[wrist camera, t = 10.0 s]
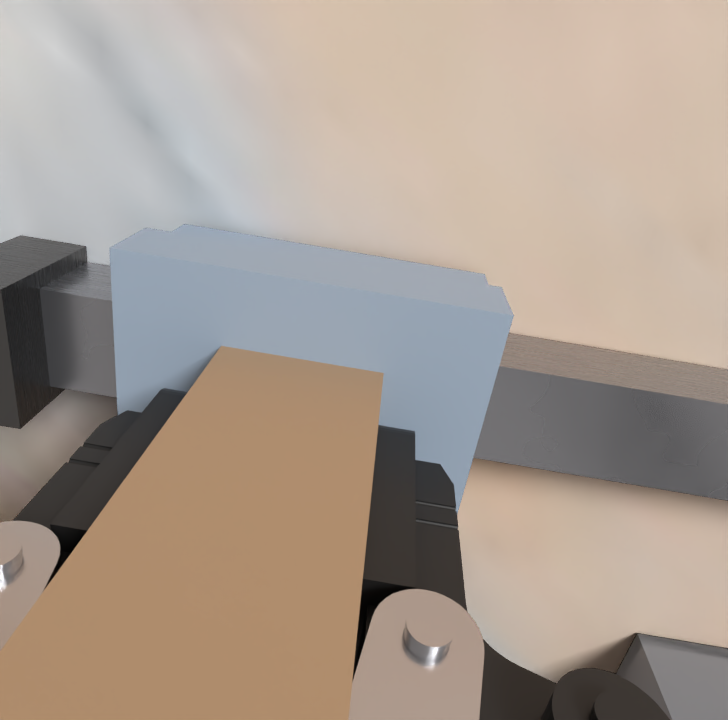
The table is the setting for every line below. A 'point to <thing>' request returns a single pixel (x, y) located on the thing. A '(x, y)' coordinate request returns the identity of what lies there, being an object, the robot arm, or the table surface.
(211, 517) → the carriage
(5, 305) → the slide rail
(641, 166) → the table surface
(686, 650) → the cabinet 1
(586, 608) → the table surface
